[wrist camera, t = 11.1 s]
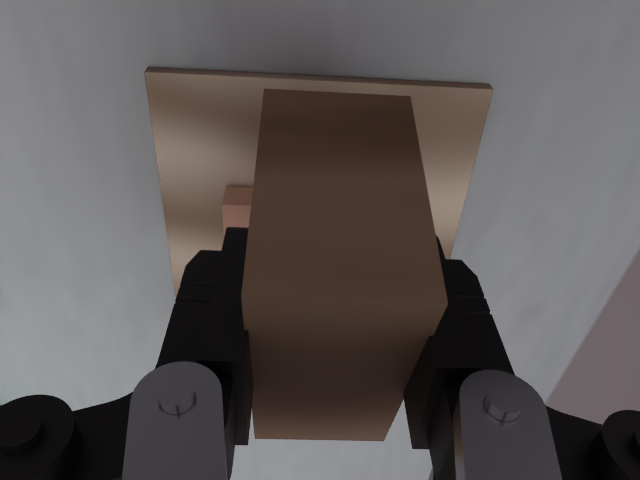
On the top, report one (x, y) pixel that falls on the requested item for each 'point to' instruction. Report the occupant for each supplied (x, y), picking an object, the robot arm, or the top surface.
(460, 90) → the board
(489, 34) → the top surface
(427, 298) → the brown rectangular block
